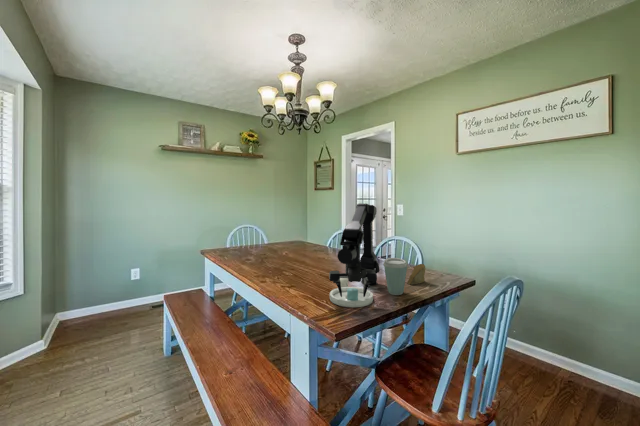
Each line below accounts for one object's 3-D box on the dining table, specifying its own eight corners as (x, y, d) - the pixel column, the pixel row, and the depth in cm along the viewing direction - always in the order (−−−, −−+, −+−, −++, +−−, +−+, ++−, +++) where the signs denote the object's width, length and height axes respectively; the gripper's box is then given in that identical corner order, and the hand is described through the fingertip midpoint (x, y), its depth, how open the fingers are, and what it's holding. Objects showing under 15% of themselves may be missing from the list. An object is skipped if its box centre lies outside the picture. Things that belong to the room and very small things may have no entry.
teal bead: (345, 302, 115) (345, 290, 115) (350, 299, 119) (350, 287, 119) (354, 304, 113) (354, 292, 112) (360, 301, 116) (360, 289, 116)
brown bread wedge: (410, 282, 137) (430, 279, 138) (404, 265, 142) (424, 262, 142) (405, 289, 146) (424, 286, 147) (400, 274, 151) (418, 271, 152)
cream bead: (346, 286, 139) (346, 276, 139) (349, 289, 135) (349, 278, 134) (337, 287, 138) (337, 276, 137) (340, 289, 133) (340, 279, 133)
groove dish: (362, 290, 132) (362, 285, 132) (380, 304, 115) (380, 298, 115) (324, 294, 127) (324, 289, 127) (337, 309, 110) (337, 303, 110)
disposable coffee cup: (411, 296, 125) (412, 262, 124) (388, 297, 123) (388, 263, 122) (401, 288, 135) (401, 257, 134) (379, 289, 133) (379, 258, 133)
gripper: (330, 263, 107) (330, 304, 108) (380, 263, 107) (379, 303, 108) (329, 257, 118) (329, 294, 119) (374, 256, 118) (374, 293, 119)
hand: (352, 296), depth 116 cm, fingers open, 9 cm apart
